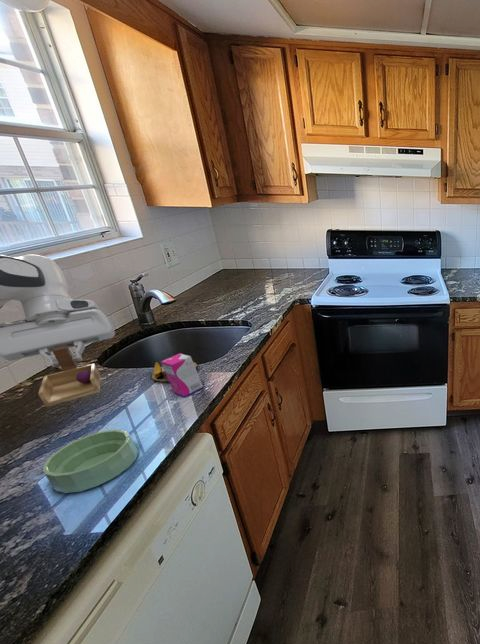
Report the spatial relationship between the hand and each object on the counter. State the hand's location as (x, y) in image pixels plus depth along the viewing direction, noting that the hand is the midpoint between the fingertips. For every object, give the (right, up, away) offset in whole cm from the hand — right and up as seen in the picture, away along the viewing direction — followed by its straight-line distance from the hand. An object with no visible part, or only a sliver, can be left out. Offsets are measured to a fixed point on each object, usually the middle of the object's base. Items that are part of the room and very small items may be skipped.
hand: (67, 362), depth 88 cm
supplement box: (+12, -11, +25) cm, 29 cm away
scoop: (+3, -6, -1) cm, 7 cm away
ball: (+5, -3, 0) cm, 6 cm away
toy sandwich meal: (+1, -6, +35) cm, 35 cm away
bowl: (+12, -24, -5) cm, 27 cm away
